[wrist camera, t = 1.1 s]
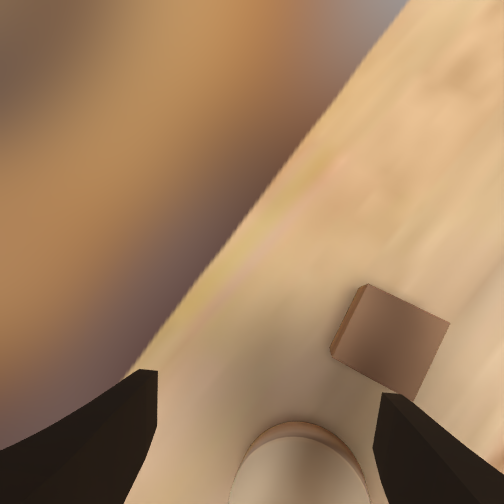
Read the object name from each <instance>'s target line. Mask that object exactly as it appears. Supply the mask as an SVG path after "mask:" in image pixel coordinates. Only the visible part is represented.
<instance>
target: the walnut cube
mask: <svg viewBox="0 0 504 504" xmlns="http://www.w3.org/2000/svg"><path fill="white" fill-rule="evenodd" d="M449 325H450V323H449V322H447V321H445V320H443V319H441V318H439V317H437V316H435V315H432V314H430V313H428V312H426V311H424V310H422V309H420V308H418V307H416V306H414V305H412V304H410V303H407V302H405V301H403V300H401V299H399V298H397V297H395V296H393V295H391V294H389V293H387V292H384V291H382V290H380V289H378V288H376V287H374V286H372V285H370V284H367V285H364V286H362V287H360V288H359V289H358V291H357V293H356V295H355V297H354V299H353V301H352V303H351V305H350V307H349V309H348V311H347V313H346V315H345V317H344V319H343V322H342V324H341V326H340V328H339V330H338V332H337V334H336V336H335V338H334V340H333V342H332V344H331V346H330V351H331V355H332V358H334V359H336V360H338V361H340V362H341V363H343V364H345V365H347V366H349V367H351V368H352V369H354V370H356V371H358V372H360V373H362V374H363V375H365V376H367V377H369V378H371V379H372V380H374V381H376V382H378V383H380V384H382V385H383V386H385V387H387V388H389V389H391V390H393V391H394V392H396V393H398V394H402V395H403V396H405V397H406V398H407V399H409V400H411V401H414V399H415V397H416V395H417V393H418V390H419V388H420V386H421V384H422V382H423V380H424V378H425V376H426V374H427V371H428V369H429V367H430V365H431V363H432V361H433V359H434V357H435V355H436V353H437V350H438V348H439V346H440V344H441V342H442V340H443V338H444V336H445V334H446V331H447V329H448V327H449Z"/></svg>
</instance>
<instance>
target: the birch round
mask: <svg viewBox="0 0 504 504" xmlns="http://www.w3.org/2000/svg"><path fill="white" fill-rule="evenodd" d="M228 504H371V501H370V497H369V493H368V490H367V486H366V482H365V478H364V475H363V472H362V470H361V467H360V465H359V463H358V462H357V460H356V458H355V456H354V455H353V454H352V452H351V451H350V449H349V448H348V447H347V446H346V445H345V444H344V443H343V442H342V441H341V440H340V439H339V438H338V437H337V436H335V435H334V434H332V433H331V432H330V431H328V430H326V429H324V428H322V427H320V426H317V425H314V424H311V423H306V422H287V423H282V424H279V425H276V426H274V427H272V428H270V429H268V430H267V431H265V432H264V433H262V434H261V435H260V436H259V437H258V438H257V439H256V440H255V441H254V442H253V443H252V445H251V446H250V448H249V449H248V451H247V453H246V455H245V457H244V459H243V461H242V463H241V465H240V467H239V469H238V471H237V474H236V476H235V478H234V482H233V484H232V488H231V491H230V495H229V501H228Z"/></svg>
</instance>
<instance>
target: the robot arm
mask: <svg viewBox="0 0 504 504" xmlns="http://www.w3.org/2000/svg"><path fill="white" fill-rule="evenodd" d="M157 391H158V371H154V370H144V369H139V370H137V371H135V372H134V373H132V374H131V375H129V376H128V377H126V378H125V379H123V380H122V381H121V382H119V383H118V384H116V385H115V386H114V387H112V388H110V389H109V390H107V391H106V392H104V393H103V394H101V395H100V396H98V397H97V398H95V399H94V400H92V401H91V402H89V403H88V404H86V405H84V406H83V407H81V408H80V409H78V410H76V411H75V412H73V413H71V414H70V415H68V416H66V417H65V418H63V419H61V420H60V421H58V422H56V423H54V424H53V425H51V426H49V427H47V428H46V429H44V430H42V431H40V432H38V433H36V434H34V435H32V436H30V437H28V438H26V439H24V440H22V441H20V442H18V443H16V444H14V445H12V446H10V447H7V448H5V449H3V450H0V504H124V502H125V499H126V497H127V495H128V493H129V491H130V489H131V487H132V485H133V483H134V481H135V479H136V477H137V475H138V473H139V471H140V469H141V467H142V465H143V462H144V460H145V458H146V456H147V453H148V450H149V448H150V445H151V442H152V439H153V436H154V433H155V430H156V427H157ZM373 452H374V456H375V460H376V464H377V468H378V472H379V476H380V480H381V483H382V486H383V489H384V491H385V494H386V497H387V499H388V502H389V504H504V474H502V473H501V472H499V471H498V470H497V469H495V468H494V467H493V466H491V465H490V464H489V463H487V462H486V461H485V460H483V459H482V458H481V457H479V456H478V455H476V454H475V453H474V452H473V451H471V450H470V449H469V448H467V447H466V446H465V445H464V444H462V443H461V442H460V441H459V440H457V439H456V438H455V437H454V436H452V435H451V434H450V433H449V432H448V431H446V430H445V429H444V428H443V427H441V426H440V425H439V424H438V423H437V422H435V421H434V420H433V419H432V418H431V417H429V416H428V415H427V414H426V413H425V412H423V411H422V410H421V409H420V408H419V407H417V406H416V405H415V404H414V403H413V402H411V401H410V400H409V399H407V398H406V397H405V396H403V395H402V394H393V393H383V392H382V396H381V402H380V408H379V413H378V419H377V425H376V431H375V437H374V443H373Z"/></svg>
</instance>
